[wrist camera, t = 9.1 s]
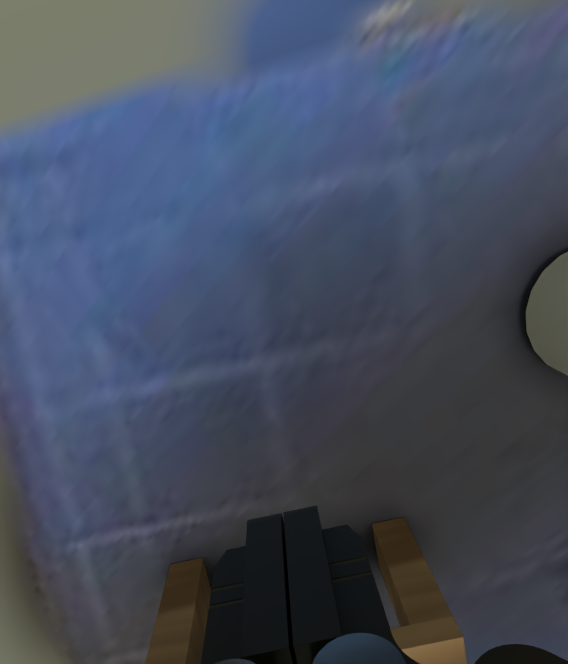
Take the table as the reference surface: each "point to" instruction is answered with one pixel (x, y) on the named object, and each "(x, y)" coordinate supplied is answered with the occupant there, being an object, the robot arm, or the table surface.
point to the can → (550, 315)
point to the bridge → (399, 576)
